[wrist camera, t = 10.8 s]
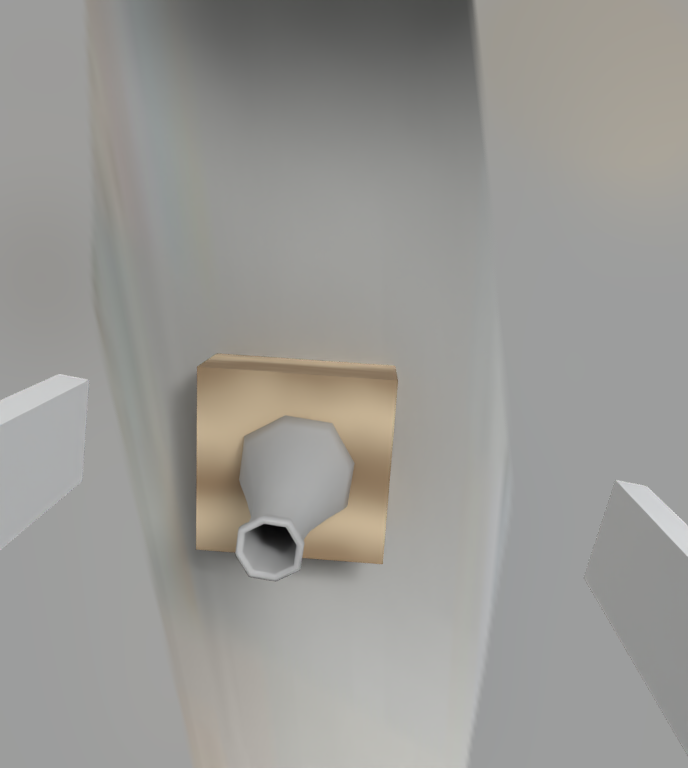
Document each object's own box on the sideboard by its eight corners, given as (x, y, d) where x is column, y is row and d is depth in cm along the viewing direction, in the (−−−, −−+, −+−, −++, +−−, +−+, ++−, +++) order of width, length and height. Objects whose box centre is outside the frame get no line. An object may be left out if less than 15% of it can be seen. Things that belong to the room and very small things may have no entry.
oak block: (218, 352, 40) (197, 366, 35) (394, 364, 40) (397, 380, 35) (215, 515, 43) (196, 549, 38) (381, 528, 43) (382, 564, 38)
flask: (228, 422, 36) (174, 487, 26) (344, 405, 36) (334, 464, 26) (251, 530, 38) (209, 629, 28) (364, 515, 37) (360, 611, 27)
